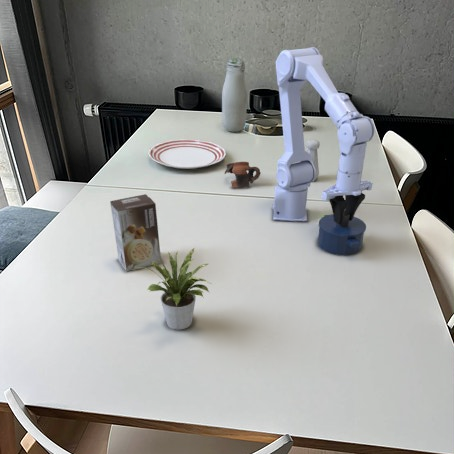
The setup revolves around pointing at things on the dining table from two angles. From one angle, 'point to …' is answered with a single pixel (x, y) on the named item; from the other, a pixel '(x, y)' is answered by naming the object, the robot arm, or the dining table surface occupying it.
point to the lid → (342, 226)
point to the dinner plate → (187, 153)
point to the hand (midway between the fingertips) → (342, 220)
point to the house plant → (178, 292)
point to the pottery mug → (242, 174)
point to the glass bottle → (234, 96)
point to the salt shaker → (313, 153)
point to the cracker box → (136, 231)
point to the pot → (339, 243)
